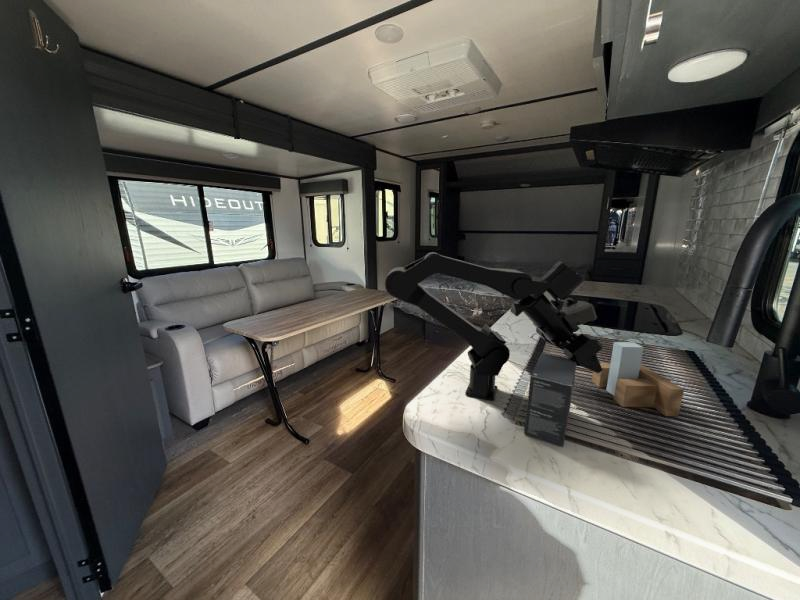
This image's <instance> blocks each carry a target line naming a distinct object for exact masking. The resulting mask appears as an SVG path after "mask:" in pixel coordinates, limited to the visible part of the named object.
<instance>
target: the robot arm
mask: <svg viewBox="0 0 800 600" xmlns="http://www.w3.org/2000/svg"><path fill="white" fill-rule="evenodd" d="M435 273H437V274H442V275H444V276H448V277H453V278H456V279H459V280H463V281H467V282H471V283H475V284H477V285H478V284H479V285H482V286H486V287H489V288H490V289H492V290H494V291H496V292H498V293H500V294H503V295H504V296H506V297H508V298H511V299H513V300H516V301H511V303H510V304H511V307H510V310H509V311H510V312H511V314H513V315H514V316H515V317H518V316H520V315H521V314H522V313H523V314H524V315H526V317H527V318H528V319H529V320H530V321H531V322H532V325H533V326H534V327H535V328H536V329H535V332H536V333H537V334H538V336H539V337H540V338H542V339H543V340H544V341H546V342H547V343H548V344H550V345H552V346H554V347H556V348H558V349H560V350H562V351H563V355H564V356H565V358H569V359H571V360H572V361H573V362H576V363H577V364H576V367H582V368H584V369H587V370H588V371H589V370H590V371H591V372H593V371H594V372H597V373H600V372H601V371H602V367H601V365H600V363H601V362H600V361H599V359H598V355H597V354H598V353H599V352H600V351H601V350H603V347H604V345H603V344H602V343H601V342H600V341H599V340H598V339H597V338H596V337H594V336H592V335H591V334H589V333H580V334H579V335H577V334H575V333H577V332H578V331H579V330H580V327H579V326H580V325H583V324H586V323H588V322H590V321H591V322H593V321H595V320H597V319H598V316H597V314H596V311H595V307H594V305H593V304H592V303H590V302H587V301H584V300H577V301H576V300H574V299H572V298H570V296H571V295H572V294H573V293H574V292H575V291H576V290H578V289H579V288H580V287H581V286H582V285H583V284H585V280H584V279H583V276H581V275H580V274H579V273H578V272H576V271H575V270H573V269H572V268H571V267H569V266H567V265H566V263H565V262H562V261H557V262H556V263H555V264H553V266H552V267H551V269H549V270H548V271H547V272H546V273H545V274H544V275H543V276H542V277H541V278H539V277H537V276H534V275H533V276H531V275H529V274H527V273H525V272H522V271H520V270H518V269H510V268H500V267H499V268H497V267H495V268H492V267H486V266H482V265H479V264H475V263H471V262H467V261H464V260H460V259H456V258H453V257H449V256H445V255H442V254H439V253H437V252H434V251H432V252H428V253H427V254H426V255H424V256H423V257H421V258H419V259H417V260H415V261H413V262H411V263H409V264H408V265H406V266H398V267H394V268H392V269H391V270H390V271H388V273H387V276H386V278H385V282H384V285H385V286H384V287H385V290H386V293H388V294H389V296H391V297H393V298H395V299H397V300H399V301H402V302H404V303H407V304H409V305H412V306H415V307H417V308H419V309H420V310H422V311H423V312H425V313H426V314H427V315H429V316H430V317H431V318H433V319H434V320H436V321H437V322H438V323H440V324H441V325H443V326H444V327H445V328H446V329H448V330H449V331H451V332H453V333H454V334H455V335H456V336H458V337H460V338H461V339H462V340H463V341H465V342H466V343H467V344H469V346H470V348H471V349H469V350H468V351H467V356H468V359H469V361H470V362H471V365H469V366H470V368H469V384H468V386H467V387H466V391H465V392H464V393H465V396H469V397H473V398H477V399H478V398H479V399H483V400H487V401H488V400H489V401H495V399H496V396H497V392H498V386H497V385H496V377H497V376H499V374H500V372H501V370H502V369H503V366H504V365H505V364H507V362H508V361H509V359H510V355H511V354H510V353H511V352H510V348H509V347H508V346H507V345H506V344H507V341H506V340H505V339H504V337H503V336H501V334H500V333H499V332H498V331H495V330H492V329H491V328H490V327H489V325H487V323H484V325H483V326H482V327H479V326H477V325H475V324H473V322H472V323H471V322H470V321H469V320H468V319H466V318H465V317H463V316H462V315H460V314H459V313H458V312H457V311H455V310H454V309H453V308H451V307H450V306H448V305H447V304H446V303H444V302H443V301H441V300H440V299H439V298H437V297H436V296H434V295H433V294H432V293H431V292H430V291H428V290H427V289H426V288H425V287H424V286H423V285H422V284H421V282H423V281H425V279H427V278H429V277H430V276H432V275H433V274H435ZM550 299H551V300H552V301H554V302H557V300H558V301H560V302H563V303H562V307H561V309H559V308H557V307H556V306H555V305H554V304H553V303H552V301H551V300H550Z"/></svg>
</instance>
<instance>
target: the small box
mask: <svg viewBox="0 0 800 600" xmlns="http://www.w3.org/2000/svg"><path fill="white" fill-rule="evenodd" d="M576 364H577V363H576V362H573V361H572V360H571V359H569V358H567V357H564V356H559V355H554V354H548V353H545V352H543V353H541V354H540V355H539V357H538V360H537V362H536V364H535V366H534V367H533V369H532V372H531V374H530V377H529V385H528V386H529V389H528V398H527V407H526V412H525V413H526V414H525V420H524V427H523V428H524V429H523V434H524V435H526V436H528V437H532V438H535V439H538V440H540V441H544V442H547V443H550V444H553V445H555V446H559V447H564V444H565V438H566V433H567V432H566V431H567V429H568V428H567V427H568V421H569V416H570V411H571V406H572V399H573V398H572V397H573V393H574V392H573V391H574V386H575V378H576V371H577V365H576Z"/></svg>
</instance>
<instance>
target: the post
mask: <svg viewBox="0 0 800 600" xmlns="http://www.w3.org/2000/svg"><path fill="white" fill-rule="evenodd" d="M644 348H645V347H644V346H642V345H641V344H638V343H637V342H634V341H633V342H627V341H625V342H624V341H620V342H619V341H617V342H616V341H613V346H612V352H611V359H610V363H611V364H610V370H609V376H608V383H607V387H606V391H607V392H608V393H609V394H611V395H612V396H613V397H614V394H615V388H616V382H617V379H638V376H639V370H640V365H642V359H643V353H644Z"/></svg>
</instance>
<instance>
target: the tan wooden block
mask: <svg viewBox="0 0 800 600" xmlns="http://www.w3.org/2000/svg"><path fill="white" fill-rule="evenodd" d="M599 363H600V365H601V367H602V371H601V372H600V373H597V372H594V371H592V378H591V382H592V383H593V384H594V383H595V384H596V385H595V384H594V385H595V386H597V387H598V388H607V383H608V376H609V370H610V364H611V362H599ZM684 392H685V389H684V388H683V387H681V386H679V385H677V384H676V383H674V382H673V381H670V380H669V379H667V378H665V377H664V376H662V375H660V374H658V373H657V372H655V371H653V370H651V369H650V368H648V367H647V366H644V365H643V364H641V365H640V370H639V376H638V379H617V382H616V388H615V394H614V396H613V401H614V402H616V403H617V404H618V405H619V406H620V407H623V408H654V409H655V410H656V411H658V412H660V413H661V414H662V415H664V416H665V417H679V415H680V411H681V407H682V401H683V396H684Z"/></svg>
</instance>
